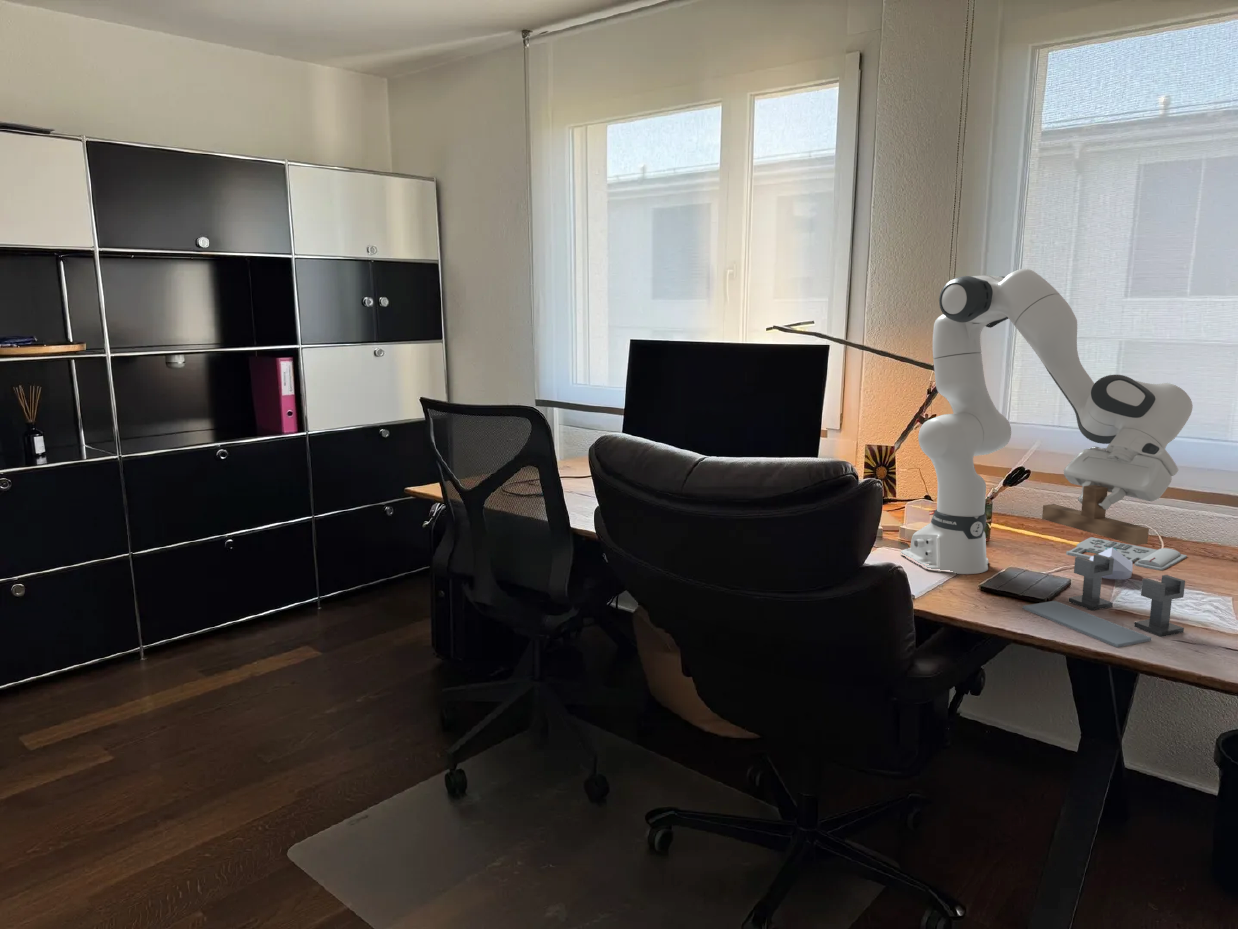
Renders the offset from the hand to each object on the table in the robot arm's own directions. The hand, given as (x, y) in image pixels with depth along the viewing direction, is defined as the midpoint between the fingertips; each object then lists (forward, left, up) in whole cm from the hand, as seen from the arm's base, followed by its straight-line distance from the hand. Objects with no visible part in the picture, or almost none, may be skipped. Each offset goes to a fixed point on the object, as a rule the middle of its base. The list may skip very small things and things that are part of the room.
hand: (1091, 505), depth 169 cm
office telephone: (-32, +51, -26) cm, 65 cm away
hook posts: (0, +12, -25) cm, 28 cm away
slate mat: (0, +1, -25) cm, 25 cm away
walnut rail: (0, +1, -5) cm, 5 cm away
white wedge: (-21, +33, -25) cm, 46 cm away
